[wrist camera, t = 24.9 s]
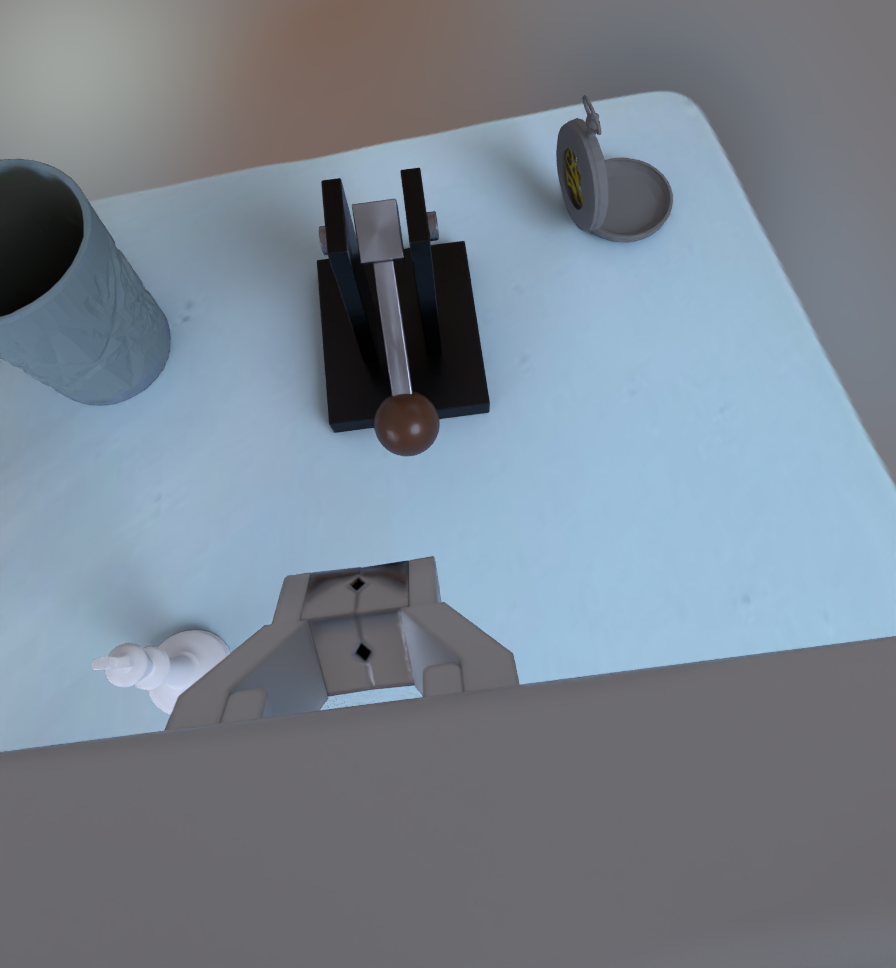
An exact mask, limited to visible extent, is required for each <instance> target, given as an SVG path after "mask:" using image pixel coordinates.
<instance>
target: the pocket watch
mask: <svg viewBox="0 0 896 968" xmlns="http://www.w3.org/2000/svg"><path fill="white" fill-rule="evenodd" d="M582 99H583V104H584V107H585V110H586V112H587V115H588V116H587V118H586V123H585V122H584V121H583V120H581V119H578V118H576V119H574V120H571V121H569V122H567V123H566V124H564V125H563V126H562V127H561V129H560V131H559V134H558V141H557V151H556V156H557V169H558V176H559V182H560V186H561V190H562V194H563V198H564V201H565V204H566V207H567V209H568V212H569V214H570V216H571V218H572V220H573V221H574V223H575V224H576V225H577V227H578V228H580V229H581V230H584V231H586V230H588V231H591V232H593V233H594V234H596V235H597V236H599V237H602V238H605V239H608V240H611V241H617V242H633V241H637V240H641V239H644V238H646V237H648V236H651V235H652V234H653V233H655V232H656V231H658V230H659V229H660V228H661V227H662V225H663V224H664V223H665V221H666V220H667V218H668V217H669V215H670V212H671V209H672V204H673V194H672V190H671V187H670V185H669V183H668V181H667V179H666V178H665V177H664V175H663V174H662V173H661V172H660V171H658V170H657V169H656V168H654V167H653V166H651V165H650V164H648V163H645V162H643V161H640V160H635V159H629V158H613V159H609V160H604V157H603V154H602V151H601V148H600V146H599V143H598V140H597V138H596V136H595V135H596V133H597V134H598V135H601V127H600V121H599V115H598V114H597V113H595V111H594V108H593V106H592V104H591V102H590V101H589V99H588V98H587V97H586V96H585V95H584V96H583V98H582ZM588 107H589V108H588ZM589 109H590V111H591V113H592V114H591V113H590V111H589ZM576 157H577V162H576ZM578 179H579V180H578Z"/></svg>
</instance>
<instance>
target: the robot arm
mask: <svg viewBox="0 0 896 968" xmlns="http://www.w3.org/2000/svg"><path fill="white" fill-rule="evenodd" d="M412 685H415V687H416V688H417V690H418V691H419V692H420V693H421V694H422V695H423V697H421V698H413V699H405V700H398V701H390V702H382V703H375V704H367V705H359V706H351V707H344V708H336V709H328V710H321V711H319V710H320V709H321V707H322V706H323V705H324V704H325V702H326V701H327V700H328V696H334V695H341V694H347V693H353V692H360V691H366V690H373V689H383V688H393V687H402V686H412ZM0 968H896V636H892V637H885V638H877V639H869V640H862V641H854V642H846V643H839V644H831V645H823V646H815V647H808V648H800V649H792V650H784V651H777V652H769V653H761V654H753V655H746V656H738V657H730V658H722V659H715V660H707V661H699V662H691V663H684V664H676V665H668V666H660V667H653V668H645V669H637V670H629V671H621V672H614V673H606V674H598V675H590V676H583V677H575V678H567V679H560V680H552V681H544V682H537V683H529V684H521V685H519V680H518V675H517V670H516V665H515V660H514V655H513V653H512V652H510V651H509V650H508V649H506V648H505V647H504V646H502V645H501V644H500V643H498V642H497V641H496V640H494V639H493V638H492V637H490V636H489V635H488V634H486V633H485V632H484V631H482V630H481V629H480V628H478V627H477V626H476V625H474V624H473V623H472V622H470V621H469V620H468V619H466V618H465V617H464V616H462V615H461V614H460V613H458V612H457V611H456V610H454V609H453V608H452V607H450V606H449V605H448V604H446V603H445V602H441V595H440V588H439V581H438V575H437V568H436V562H435V558H434V557H433V556H431V557H425V558H419V559H414V560H410V561H402V562H395V563H389V564H382V565H376V566H369V567H363V568H361V567H357V568H348V569H339V570H330V571H321V572H313V573H303V574H296V575H289V576H287V577H285V579H284V581H283V584H282V588H281V592H280V595H279V599H278V603H277V606H276V610H275V614H274V617H273V621H272V624H271V625H264V626H263V627H262V628H261V629H260V630H258V631H257V632H256V633H255V634H254V635H252V636H251V637H250V638H249V639H247V640H246V641H245V642H244V643H243V644H241V645H240V646H239V647H238V648H236V649H235V650H234V651H233V652H232V653H230V654H229V655H228V656H227V657H226V658H224V659H223V660H222V661H221V662H219V663H218V664H217V665H216V666H215V667H213V668H212V669H211V670H210V671H208V672H207V673H206V674H205V675H204V676H202V677H201V678H200V679H199V680H197V681H196V682H195V683H194V684H193V685H191V686H190V687H189V688H188V689H187V690H185V691H184V692H183V693H182V694H180V695H179V696H178V698H177V701H176V703H175V706H174V708H173V711H172V713H171V715H170V718H169V720H168V723H167V725H166V728H165V730H164V731H158V732H151V733H143V734H135V735H127V736H120V737H112V738H104V739H97V740H89V741H81V742H73V743H66V744H58V745H50V746H43V747H35V748H27V749H19V750H12V751H4V752H0Z"/></svg>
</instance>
